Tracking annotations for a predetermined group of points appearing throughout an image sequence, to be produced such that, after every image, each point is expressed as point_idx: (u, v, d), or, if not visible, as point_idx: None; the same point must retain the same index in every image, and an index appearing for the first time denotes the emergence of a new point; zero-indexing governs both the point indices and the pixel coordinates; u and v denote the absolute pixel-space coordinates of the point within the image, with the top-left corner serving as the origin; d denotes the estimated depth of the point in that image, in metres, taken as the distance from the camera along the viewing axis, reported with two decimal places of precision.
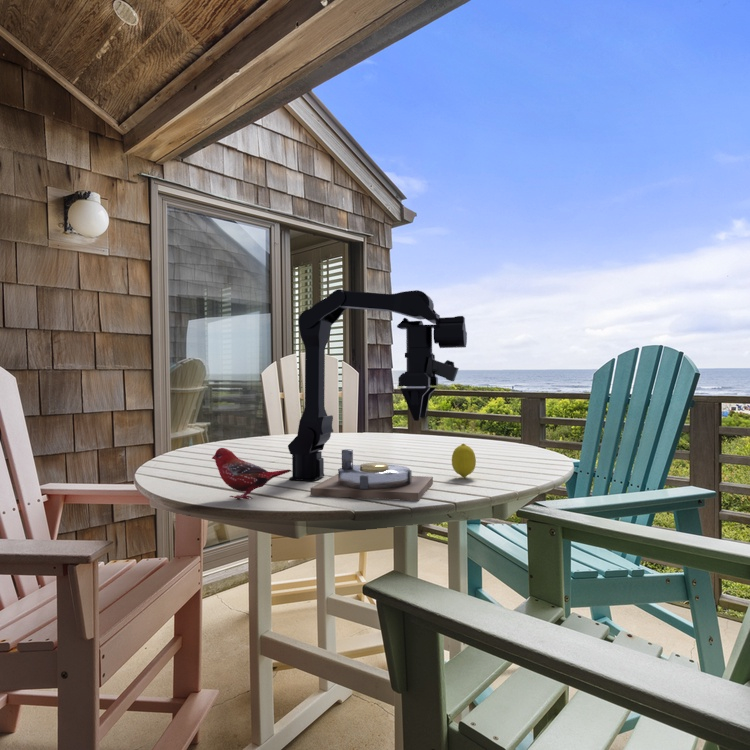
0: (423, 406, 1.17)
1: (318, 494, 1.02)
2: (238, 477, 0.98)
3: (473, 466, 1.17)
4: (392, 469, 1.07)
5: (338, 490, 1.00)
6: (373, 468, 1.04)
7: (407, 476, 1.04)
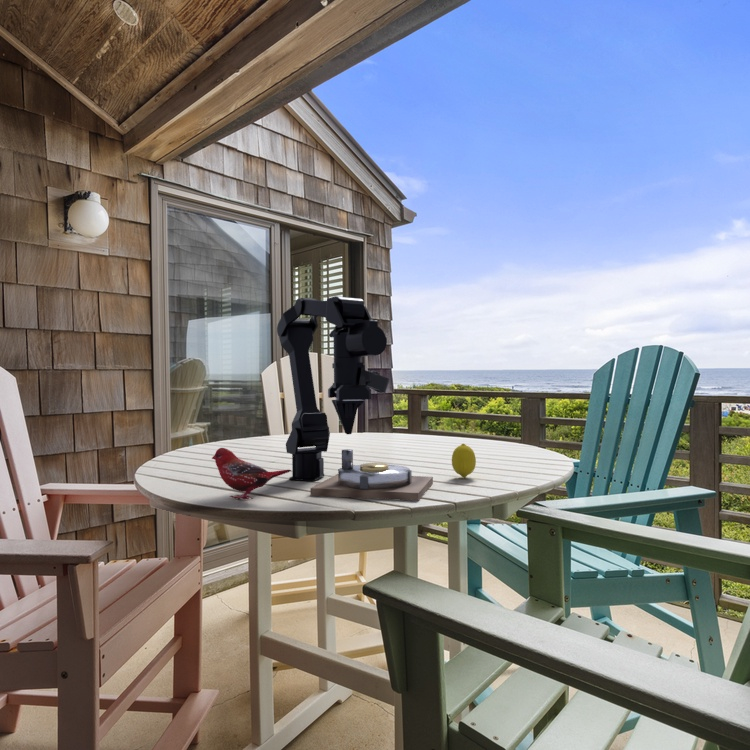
0: None
1: (318, 494, 1.02)
2: (238, 477, 0.98)
3: (473, 466, 1.17)
4: (392, 469, 1.07)
5: (338, 490, 1.00)
6: (373, 468, 1.04)
7: (407, 476, 1.04)
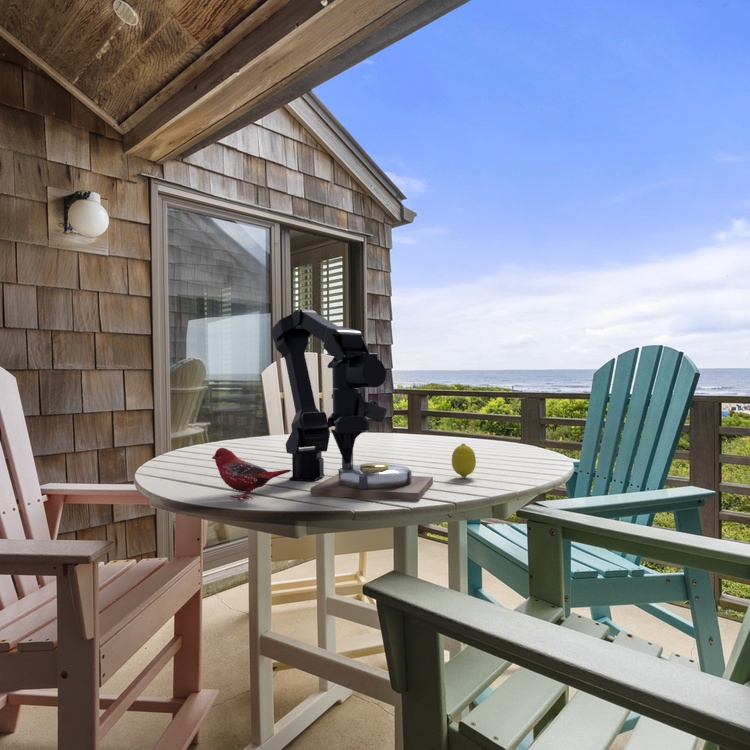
0: None
1: (318, 494, 1.02)
2: (238, 477, 0.98)
3: (473, 466, 1.17)
4: (392, 469, 1.07)
5: (338, 490, 1.00)
6: (373, 468, 1.04)
7: (407, 476, 1.04)
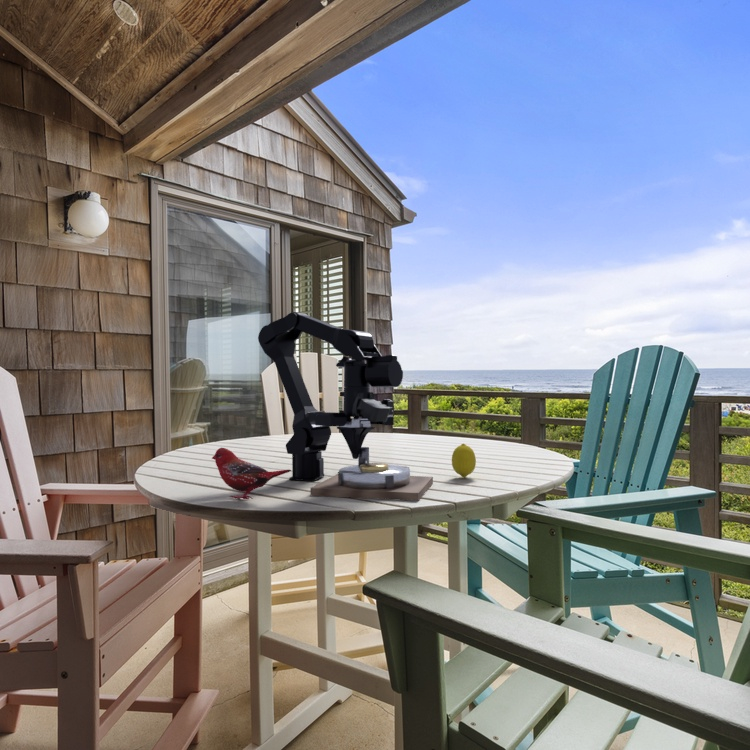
0: None
1: (318, 494, 1.02)
2: (238, 477, 0.98)
3: (473, 466, 1.17)
4: (386, 472, 1.04)
5: (338, 490, 1.00)
6: (362, 467, 1.06)
7: (383, 480, 1.00)
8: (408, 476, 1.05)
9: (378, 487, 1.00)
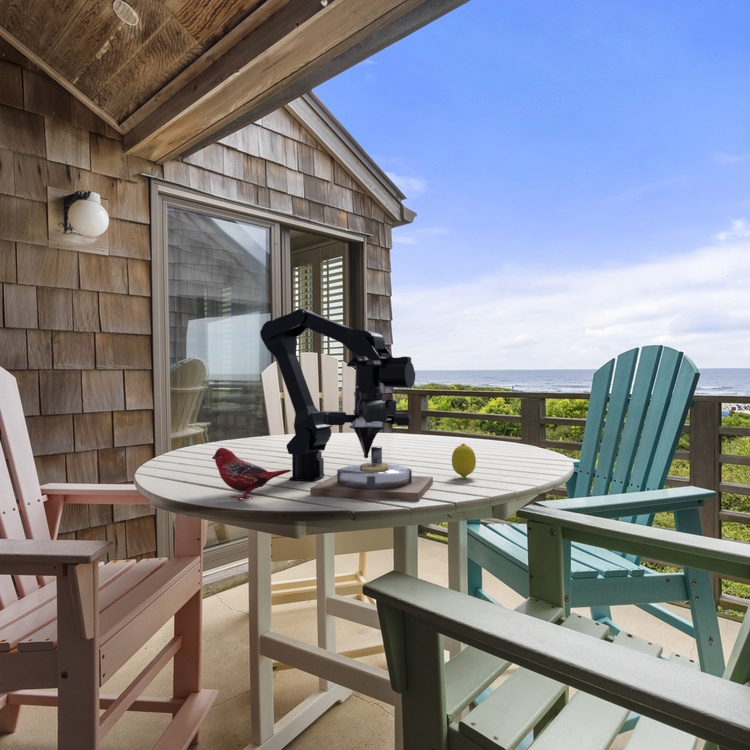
0: None
1: (318, 494, 1.02)
2: (238, 477, 0.98)
3: (473, 466, 1.17)
4: (378, 472, 1.04)
5: (338, 490, 1.00)
6: (360, 466, 1.07)
7: (364, 480, 1.00)
8: (399, 479, 1.02)
9: (360, 487, 1.00)
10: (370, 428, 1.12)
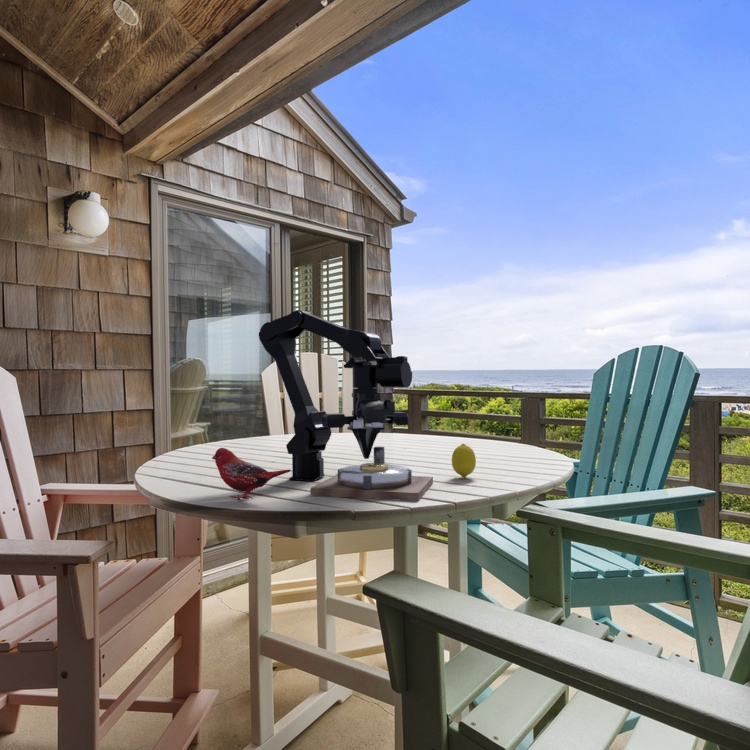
0: None
1: (318, 494, 1.02)
2: (238, 477, 0.98)
3: (473, 466, 1.17)
4: (376, 472, 1.04)
5: (338, 490, 1.00)
6: (360, 466, 1.07)
7: (361, 480, 1.00)
8: (396, 479, 1.01)
9: (357, 486, 1.01)
10: (371, 429, 1.12)
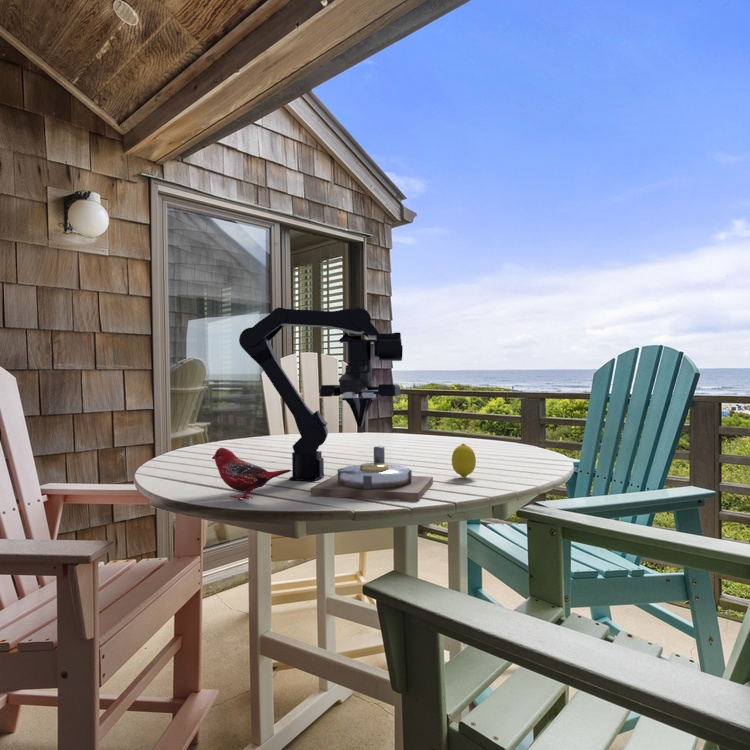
0: None
1: (318, 494, 1.02)
2: (238, 477, 0.98)
3: (473, 466, 1.17)
4: (376, 472, 1.04)
5: (338, 490, 1.00)
6: (360, 466, 1.07)
7: (361, 480, 1.00)
8: (396, 479, 1.01)
9: (357, 486, 1.01)
10: None
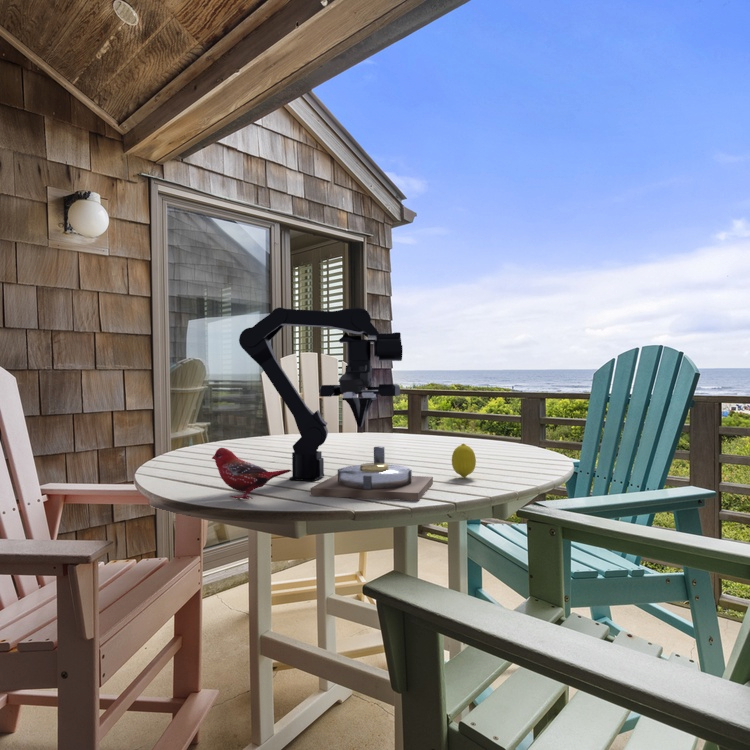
0: None
1: (318, 494, 1.02)
2: (238, 477, 0.98)
3: (473, 466, 1.17)
4: (376, 472, 1.04)
5: (338, 490, 1.00)
6: (360, 466, 1.07)
7: (361, 480, 1.00)
8: (396, 479, 1.01)
9: (357, 486, 1.01)
10: None
